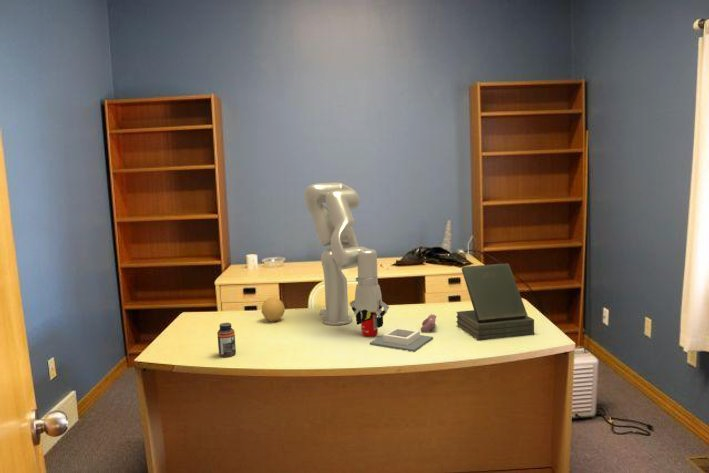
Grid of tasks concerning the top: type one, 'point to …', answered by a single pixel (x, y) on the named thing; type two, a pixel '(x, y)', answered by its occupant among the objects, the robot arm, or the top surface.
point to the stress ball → (273, 309)
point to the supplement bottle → (226, 340)
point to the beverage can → (369, 323)
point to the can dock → (402, 339)
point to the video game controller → (428, 323)
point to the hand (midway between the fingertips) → (369, 325)
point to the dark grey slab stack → (494, 304)
